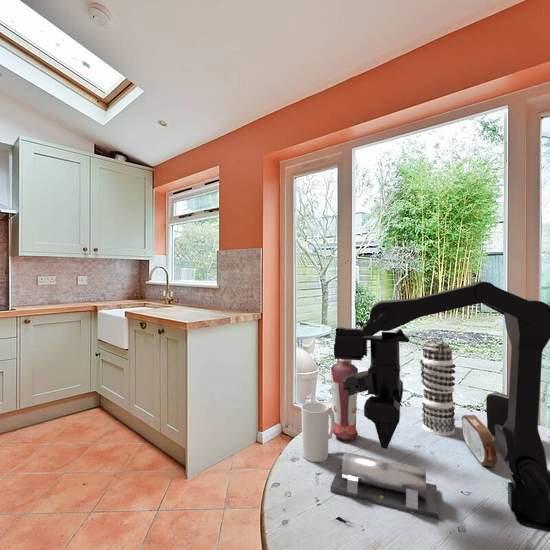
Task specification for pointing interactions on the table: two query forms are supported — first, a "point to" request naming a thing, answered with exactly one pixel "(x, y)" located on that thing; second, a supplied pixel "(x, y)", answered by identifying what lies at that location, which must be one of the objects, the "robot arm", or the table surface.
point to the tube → (385, 473)
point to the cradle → (388, 495)
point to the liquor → (343, 401)
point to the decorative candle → (438, 388)
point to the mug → (316, 430)
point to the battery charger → (496, 410)
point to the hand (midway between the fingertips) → (386, 437)
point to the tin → (479, 440)
